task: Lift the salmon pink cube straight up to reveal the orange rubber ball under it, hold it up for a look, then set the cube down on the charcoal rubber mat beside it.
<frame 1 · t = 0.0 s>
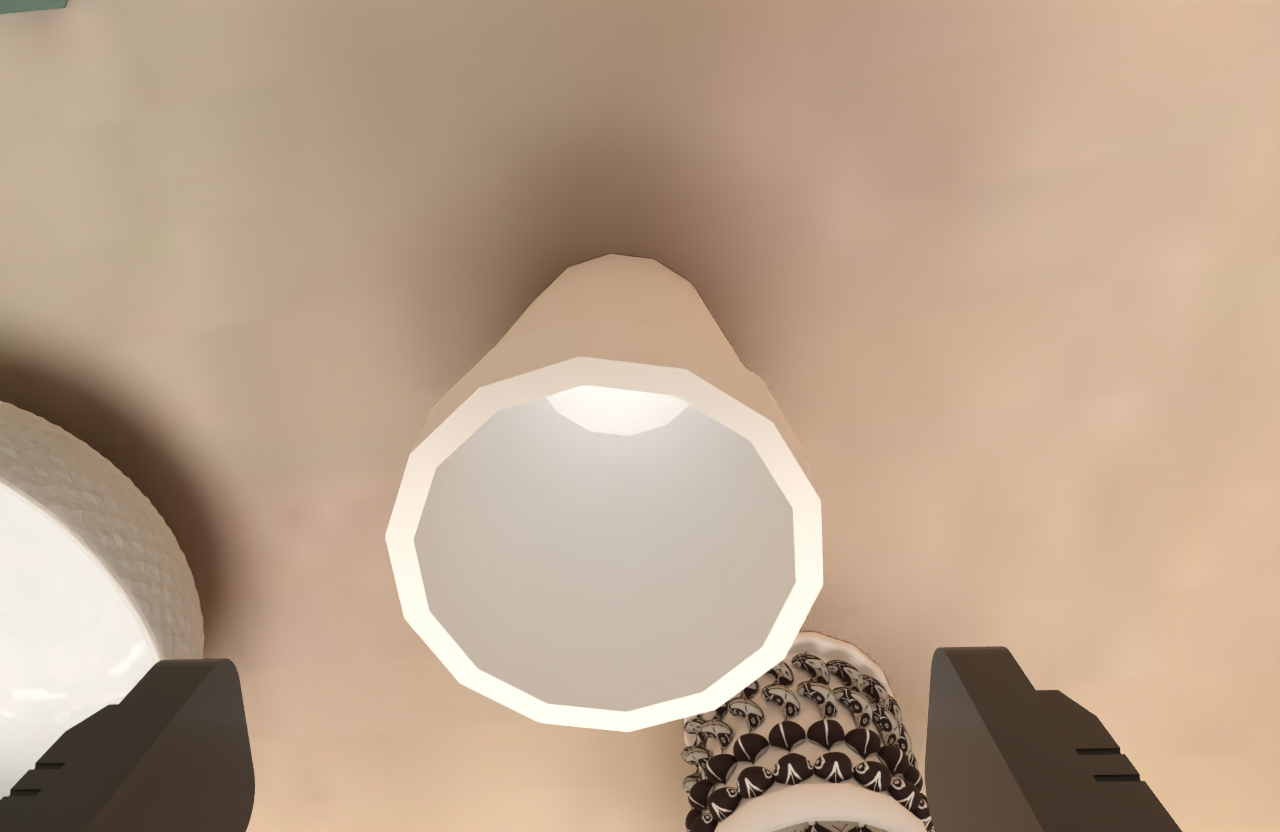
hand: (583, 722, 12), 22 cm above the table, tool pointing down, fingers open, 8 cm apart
foam cup: (620, 344, 34), on the table
decorative candle: (788, 715, 40), on the table
cereal bowl: (24, 542, 37), on the table
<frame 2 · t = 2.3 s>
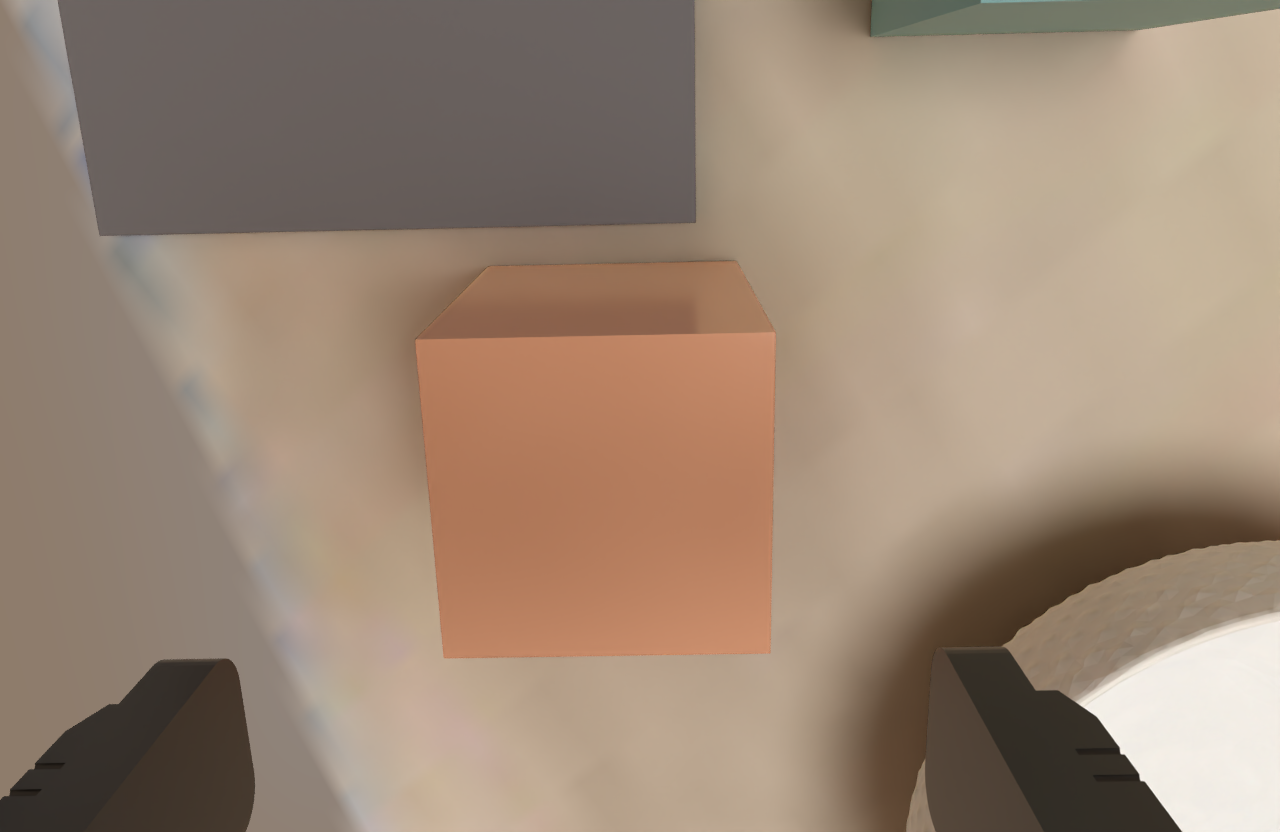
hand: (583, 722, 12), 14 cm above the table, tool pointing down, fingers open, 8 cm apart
cereal bowl: (1158, 746, 29), on the table
salmon pink cube: (615, 383, 25), on the table
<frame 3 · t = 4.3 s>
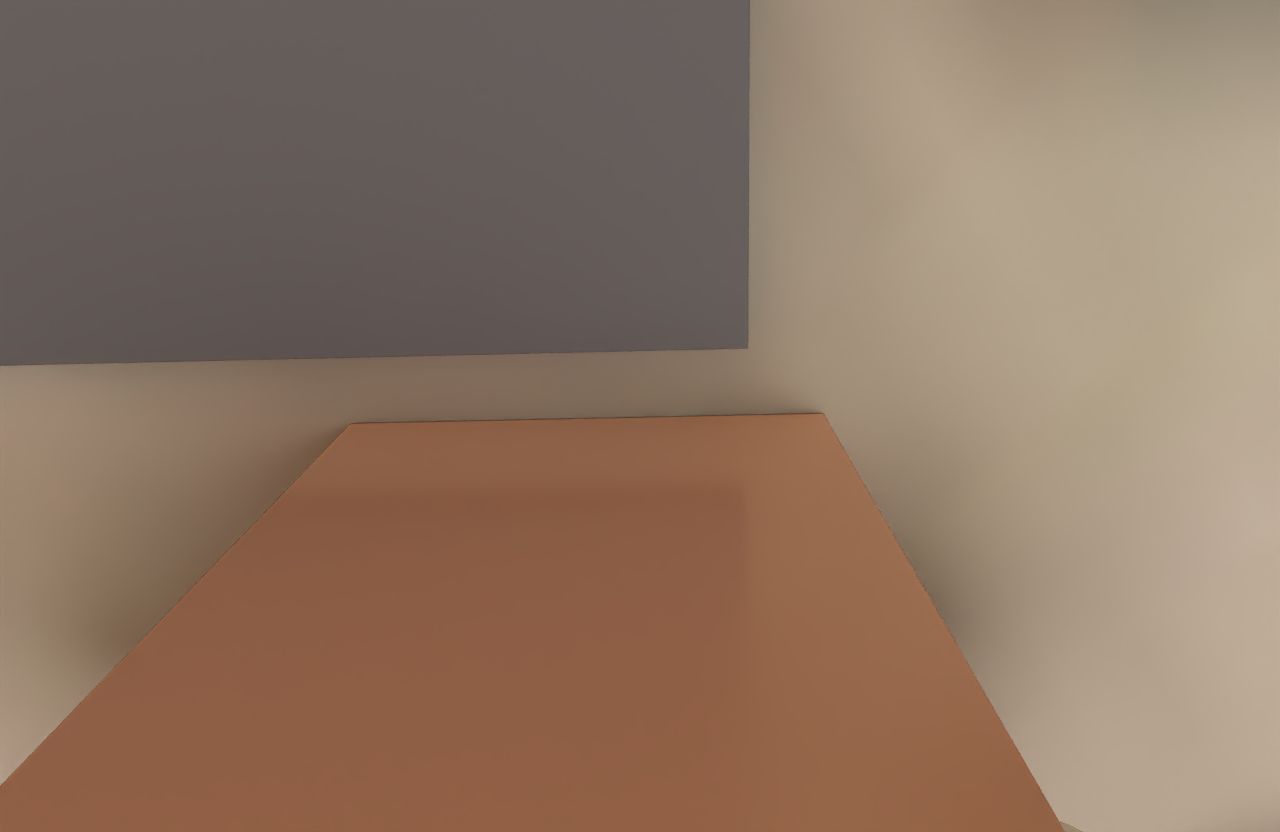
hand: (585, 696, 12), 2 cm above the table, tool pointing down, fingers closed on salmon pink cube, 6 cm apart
salmon pink cube: (595, 631, 14), on the table, touching gripper
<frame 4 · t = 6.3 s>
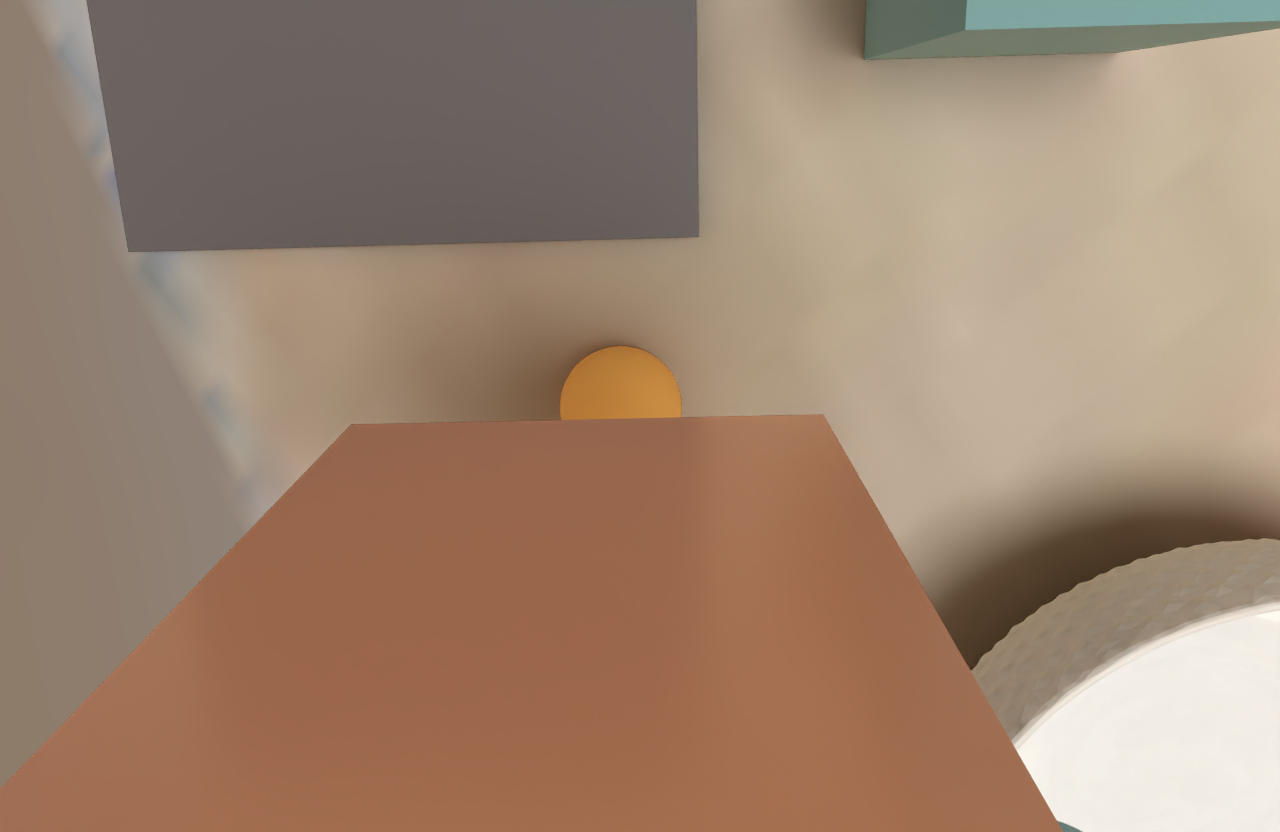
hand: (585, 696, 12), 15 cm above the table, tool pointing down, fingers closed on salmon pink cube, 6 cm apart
cereal bowl: (1149, 742, 29), on the table
salmon pink cube: (595, 631, 14), point 13 cm above the table, touching gripper
orange ball: (620, 407, 25), on the table
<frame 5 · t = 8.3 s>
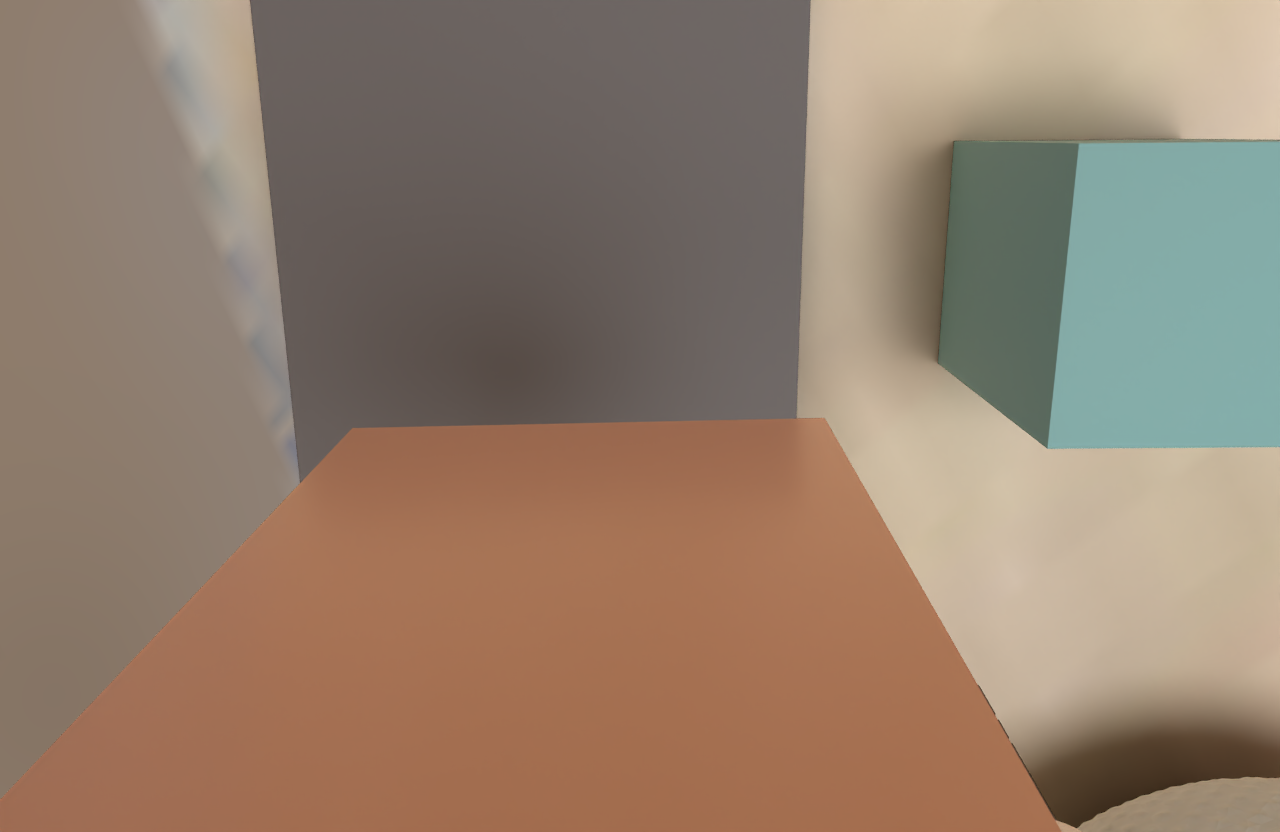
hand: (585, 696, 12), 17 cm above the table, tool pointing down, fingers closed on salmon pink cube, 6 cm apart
charcoal mat: (541, 258, 28), on the table
seafoam square box: (1056, 254, 27), on the table
salmon pink cube: (596, 634, 14), point 15 cm above the table, touching gripper
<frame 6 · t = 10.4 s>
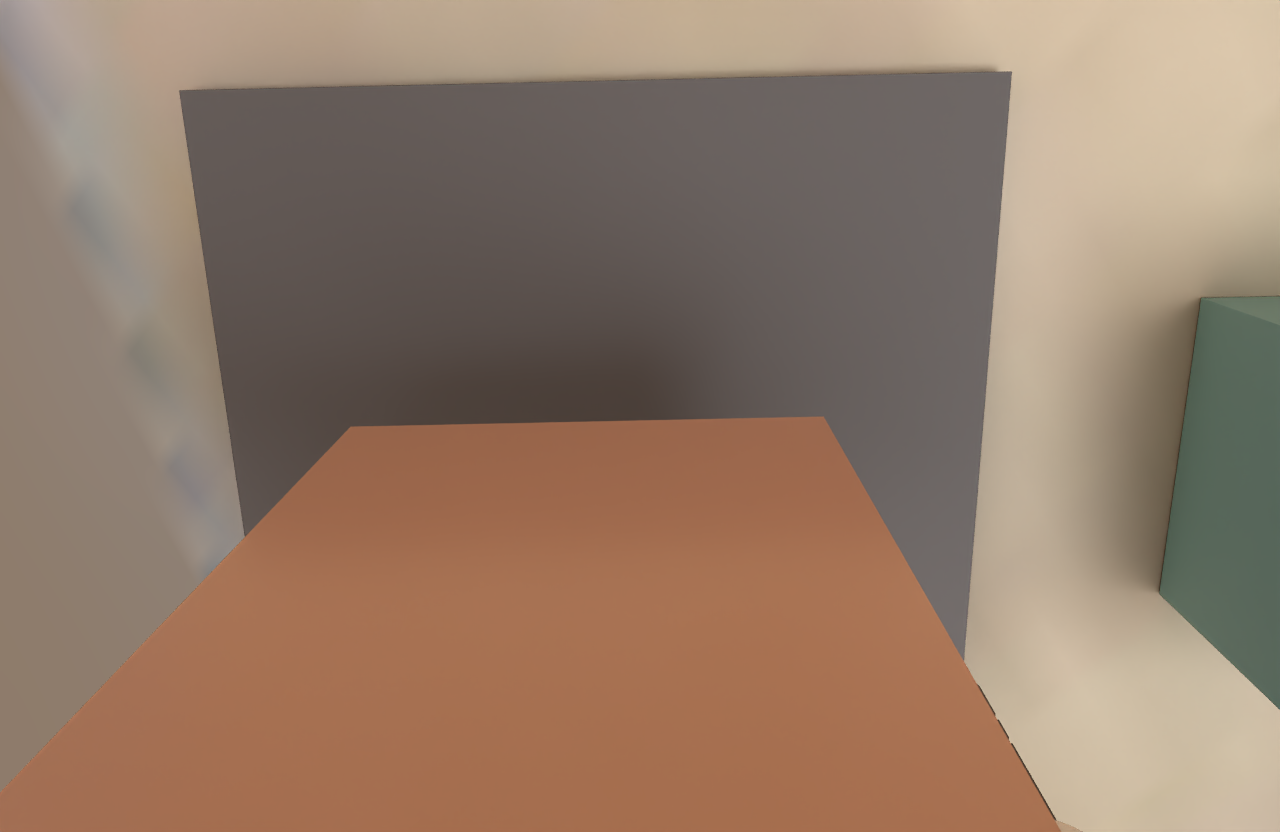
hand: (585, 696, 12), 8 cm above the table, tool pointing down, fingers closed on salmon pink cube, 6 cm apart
charcoal mat: (606, 461, 20), on the table
salmon pink cube: (595, 633, 14), point 6 cm above the table, touching gripper
when the fingers open (4 cm above the table, at t = 12.2 s): salmon pink cube drops 1 cm, resting on charcoal mat.
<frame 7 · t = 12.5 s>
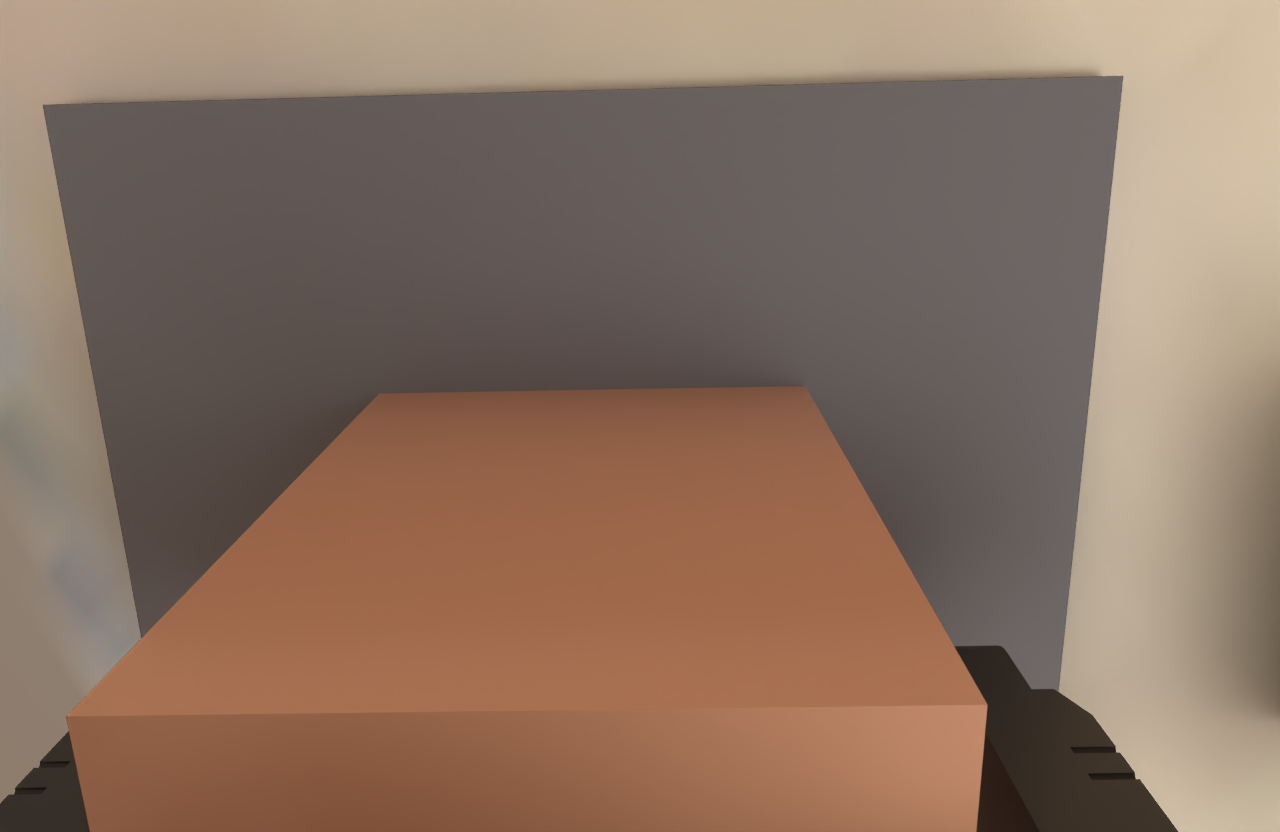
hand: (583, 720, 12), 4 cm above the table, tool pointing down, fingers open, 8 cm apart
charcoal mat: (600, 566, 16), on the table
salmon pink cube: (598, 583, 15), point 1 cm above the table, touching charcoal mat
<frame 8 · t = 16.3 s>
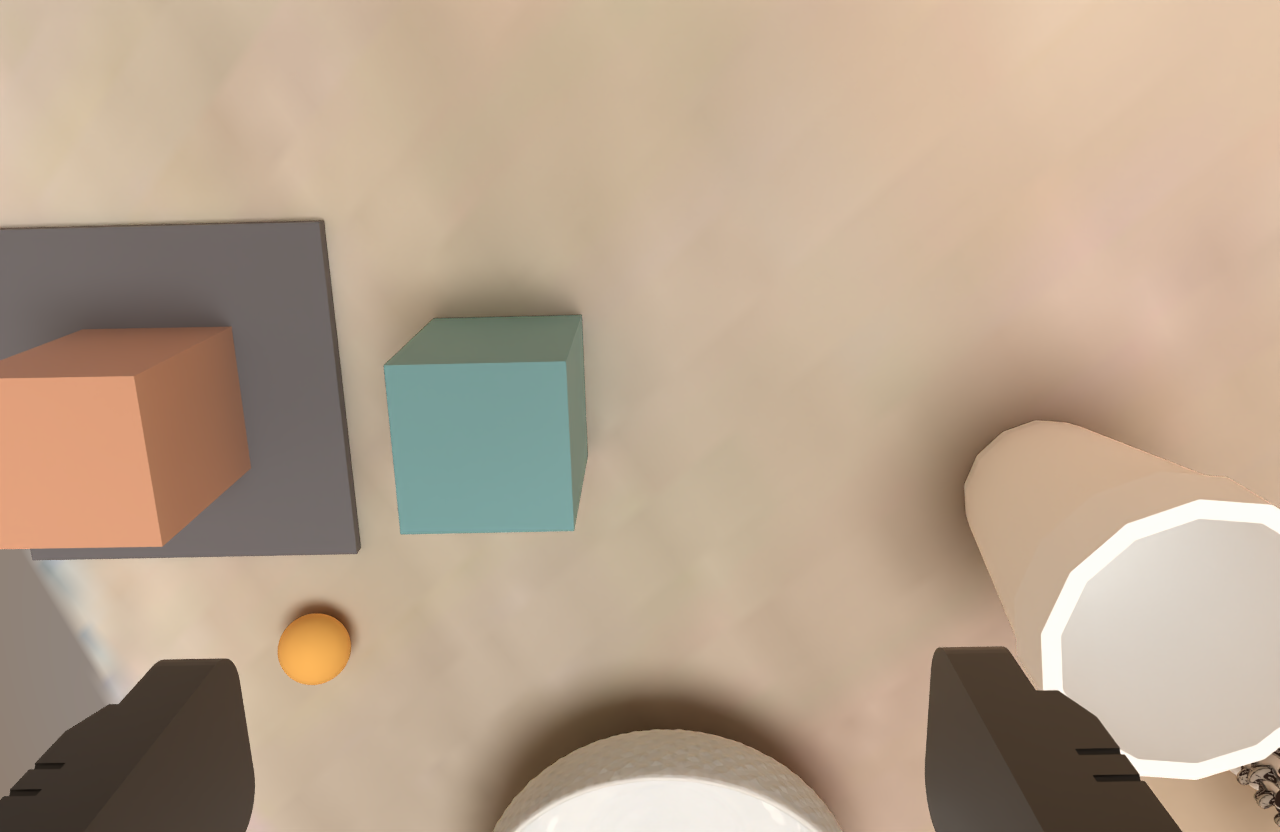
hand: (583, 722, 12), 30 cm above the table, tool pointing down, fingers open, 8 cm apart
foam cup: (1036, 489, 43), on the table
charcoal mat: (175, 395, 42), on the table
cereal bowl: (667, 830, 48), on the table
seafoam square box: (512, 388, 42), on the table
salmon pink cube: (168, 400, 41), point 1 cm above the table, touching charcoal mat
orange ball: (314, 648, 44), on the table
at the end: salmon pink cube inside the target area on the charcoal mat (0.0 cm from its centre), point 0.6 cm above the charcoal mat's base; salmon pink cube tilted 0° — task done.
